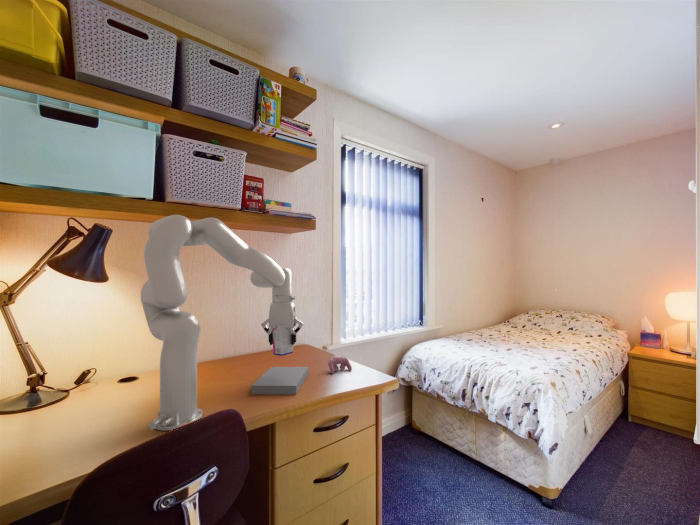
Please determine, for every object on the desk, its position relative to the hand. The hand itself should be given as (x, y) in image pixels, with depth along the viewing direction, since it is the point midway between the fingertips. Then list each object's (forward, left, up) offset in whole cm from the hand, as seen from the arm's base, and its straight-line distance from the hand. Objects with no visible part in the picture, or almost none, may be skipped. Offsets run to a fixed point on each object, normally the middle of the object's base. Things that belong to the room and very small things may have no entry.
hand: (282, 344), depth 119 cm
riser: (0, 0, -15) cm, 15 cm away
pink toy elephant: (+15, -21, -15) cm, 30 cm away
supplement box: (0, 0, -4) cm, 4 cm away
